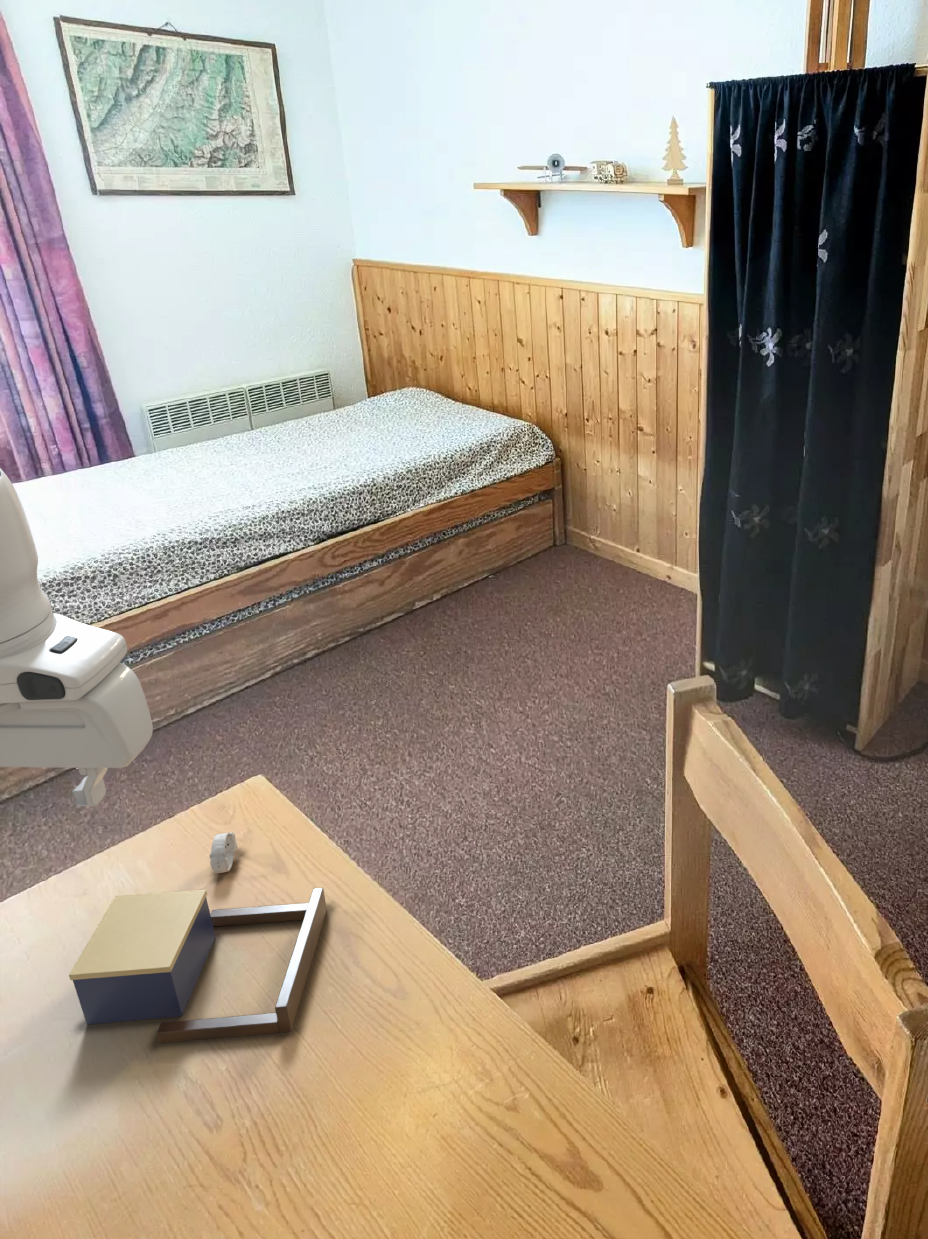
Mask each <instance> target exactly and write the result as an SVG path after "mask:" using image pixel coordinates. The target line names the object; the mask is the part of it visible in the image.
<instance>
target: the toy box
mask: <svg viewBox="0 0 928 1239" xmlns="http://www.w3.org/2000/svg"><path fill="white" fill-rule="evenodd" d="M207 896H208V892H207V889H205V888H204V889H194V890H193V889H192V890H180V891H165V892H153V893H138V894H137V893H136V894H125V895H115V897H114V898H113V899H112V901H111V903H110V905H109V907H108V908H107V910H106V912H105V913H104V915H103V916H102V918H101V920H100V922H99V923H98V925H97V927H96V929H95V930H94V932H93V934H92V935H91V937H90V939H89V941H88V942H87V944H86V945H85V947H84V949H83V951H82V952H81V954H80V955H79V957H78V959H77V960H76V962H75V964H74V966H73V967H72V969H71V971H70V973H69V974H68V977H69V980H70V981H72V982H73V986H74V989H75V992H76V994H77V995H76V996H77V998H78V1001H79V1005H80V1007H81V1011H82V1014H83V1017H84V1020H85V1023H86V1025H96V1024H107V1023H108V1024H109V1023H119V1022H121V1023H122V1022H131V1021H144V1020H154V1019H155V1020H156V1019H166V1018H167V1019H168V1018H178V1017H182V1016H183V1015H184V1013H185V1010H186V1008H187V1006H188V1003H189V1001H190V998H191V996H192V994H193V991H194V989H195V987H196V985H197V983H198V980H199V978H200V975H201V973H202V971H203V968H204V966H205V964H206V961H207V959H208V958H209V954H210V952H211V950H212V947H213V945H214V943H215V940H216V938H217V937H216V933H215V929H214V926H213V924H212V920H211V916H210V914H211V911H210V907H209V903H208V898H207Z"/></svg>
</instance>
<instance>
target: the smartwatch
mask: <svg viewBox="0 0 928 1239" xmlns="http://www.w3.org/2000/svg"><path fill="white" fill-rule="evenodd" d="M237 849H238V843H237V838H236V834H235V832H232V831H230V832H223V833H217V834H215V835H214V837H213V840H212V844H211V850H210V853H209V859H210V862H209V864H210V868H211V870H212V871H213V872H214V873H215V874H223V873H227V872H230V871H231V869H232V867H233V864H234V863H233V862H234V857H235V852H236V850H237Z"/></svg>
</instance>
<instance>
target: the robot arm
mask: <svg viewBox="0 0 928 1239" xmlns="http://www.w3.org/2000/svg"><path fill="white" fill-rule="evenodd" d="M38 564H39V556H38V551H37V548H36V544H35V541H34V537H33V533H32V530H31V527H30V523H29V521H28V518H27V515H26V511H25V509H24V506H23V504H22V501H21V500H20V497H19V494H18V493H17V490H16V488H15V486H14V485H13V483H12V481H11V480H10V478H9V477H8V475H7V474H6V473H5V472H4V471H3V469H2V468H1V467H0V768H67V769H68V768H72V769H74V768H76V769H78V773H79V775H81V776H84V777H83V778H82V779H81V780H80V782H79V784H77V785H76V786H75V787H74V788H73V789H72V790H71V793H72V797H73V798H74V800H75V801H74V804H75V806H76V807H97V806H98V805H99V804H100V803H101V801H102V800H103V799H104V798H105V796H106V794H107V789H106V784H105V780H104V777H105V775H106V774H107V771H108V769H123V768H126V767H128V766H129V765H130V764H131V763H132V762H133V761H134V760H135V759H136V758H137V757H138V756H139V755H140V754H141V753H142V751H143V750H144V749H145V748H146V746H147V745H148V743H149V742H150V740H151V739H152V736H153V734H154V728H153V727H154V726H153V721H152V716H151V713H150V708H149V706H148V702H147V698H146V695H145V692H144V690H143V686H142V684H141V681H140V680H139V678H138V675H137V674H136V672H134V671H133V670H132V669H131V668H130V667H129V666H128V665H126V664H124V663H123V662H121V661H122V660H123V659H124V657H125V656H127V654H128V645H127V641H126V638H125V637H124V636H123V635H122V634H120V633H117V632H115V631H111V630H108V629H104V628H101V627H97V626H93V625H90V624H87V623H84V622H82V621H77V620H75V619H72V618H70V617H67V616H65V615H63V614H62V613H61V614H60V613H58V612H53V608H52V605H51V601H50V599H49V597H48V596H47V594H46V593H45V591H44V590H43V589H42V587H41V584H40V583H39V580H38Z"/></svg>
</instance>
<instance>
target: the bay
mask: <svg viewBox="0 0 928 1239" xmlns="http://www.w3.org/2000/svg"><path fill="white" fill-rule="evenodd" d="M327 911H328V908H327V902H326V895H325V889H324V887H315V888H314V887H313V889H312V891H311V895H310V898H309V899H308V902H299V903H285V904H274V905H273V904H271V905H262V906H261V905H259V906H258V905H257V906H244V907H233V908H217V909H211V911H210V916H211V920H212V924H213V927H223V926H224V927H225V926H235V925H236V926H237V925H249V924H250V925H251V924H262V923H263V924H264V923H275V922H276V923H277V922H289V921H301V920H302V922H301V925H300V929H299V932H298V935H297V938H296V941H295V944H294V946H293V950H292V953H291V957H290V960H289V962H288V966H287V969H286V972H285V974H284V978H283V982H282V984H281V987H280V990H279V994H278V997H277V1000H276V1003H275V1005H274V1011H275V1012H267V1013H255V1014H244V1015H234V1016H233V1015H232V1016H223V1017H222V1016H221V1017H211V1018H210V1017H209V1018H199V1019H187V1020H176V1021H175V1020H174V1021H163V1022H160V1025H159V1027H158V1029H157V1031H156V1035H157V1036H156V1037H157V1040H158V1043H159V1044H161V1043H171V1042H182V1041H183V1042H184V1041H193V1040H194V1041H195V1040H207V1039H216V1038H217V1039H219V1038H228V1037H239V1036H251V1035H263V1034H274V1033H284V1032H285V1033H287V1032H292V1029H293V1026H294V1023H295V1019H296V1016H297V1013H298V1010H299V1006H300V1003H301V999H302V996H303V992H304V989H305V987H306V982H307V979H308V976H309V972H310V969H311V965H312V962H313V958H314V955H315V953H316V948H317V945H318V942H319V938H320V935H321V932H322V928H323V924H324V921H325V918H326V915H327Z"/></svg>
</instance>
